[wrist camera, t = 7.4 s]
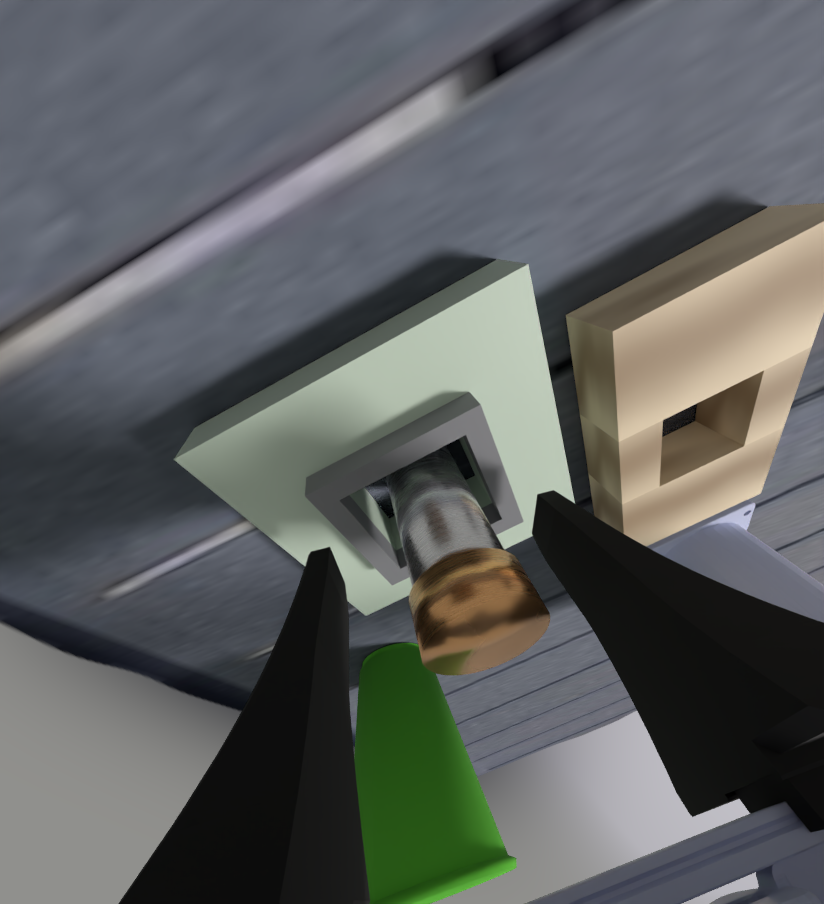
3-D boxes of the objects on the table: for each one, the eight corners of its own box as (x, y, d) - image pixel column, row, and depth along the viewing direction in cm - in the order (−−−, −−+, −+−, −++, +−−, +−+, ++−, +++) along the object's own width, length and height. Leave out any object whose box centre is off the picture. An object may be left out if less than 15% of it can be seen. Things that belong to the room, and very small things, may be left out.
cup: (387, 696, 28) (415, 910, 19) (305, 675, 23) (293, 951, 14) (471, 646, 26) (545, 857, 17) (402, 612, 21) (458, 883, 12)
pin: (462, 467, 15) (559, 637, 9) (399, 500, 16) (450, 687, 9) (434, 413, 14) (535, 580, 7) (363, 451, 14) (397, 645, 7)
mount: (716, 466, 20) (760, 493, 18) (595, 524, 21) (625, 556, 18) (769, 206, 12) (862, 200, 10) (565, 315, 12) (612, 331, 10)
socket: (554, 488, 18) (590, 529, 15) (362, 582, 19) (368, 635, 16) (497, 259, 11) (547, 267, 8) (194, 427, 12) (160, 479, 9)
